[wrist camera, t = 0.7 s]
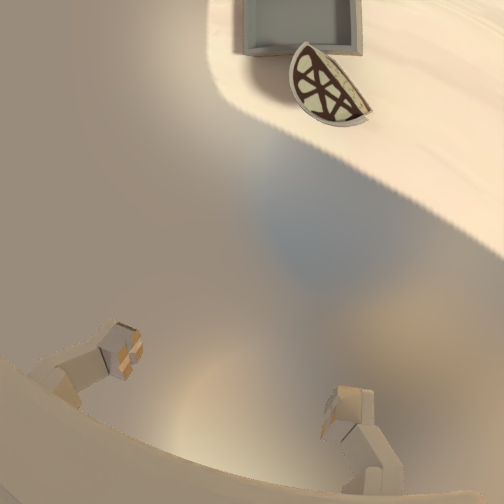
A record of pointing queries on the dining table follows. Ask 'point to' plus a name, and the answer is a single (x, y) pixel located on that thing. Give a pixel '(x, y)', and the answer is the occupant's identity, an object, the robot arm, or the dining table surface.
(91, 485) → the robot arm
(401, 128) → the dining table surface
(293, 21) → the bin
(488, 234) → the dining table surface
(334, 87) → the ice cream cake half
